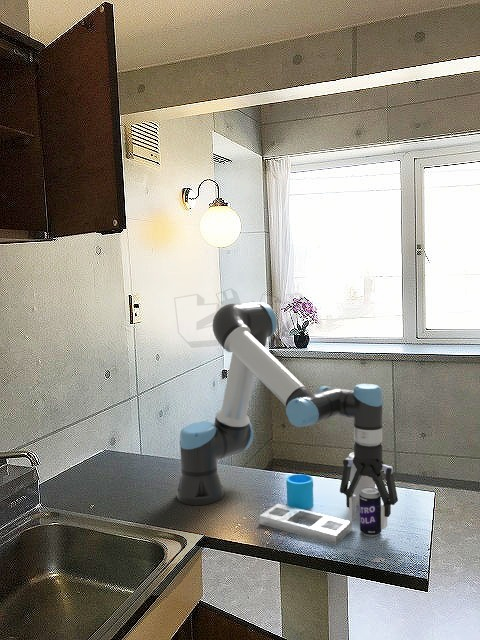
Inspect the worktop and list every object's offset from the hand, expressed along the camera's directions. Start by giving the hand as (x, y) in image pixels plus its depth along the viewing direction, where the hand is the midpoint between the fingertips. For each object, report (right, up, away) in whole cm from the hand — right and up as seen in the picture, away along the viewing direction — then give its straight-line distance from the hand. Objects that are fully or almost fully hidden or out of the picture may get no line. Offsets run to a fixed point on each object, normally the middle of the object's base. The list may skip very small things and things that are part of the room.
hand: (368, 523), depth 153 cm
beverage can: (+1, -3, 0) cm, 3 cm away
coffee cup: (+3, -1, +20) cm, 20 cm away
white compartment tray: (-17, -3, +5) cm, 18 cm away
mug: (-15, -2, +22) cm, 27 cm away
